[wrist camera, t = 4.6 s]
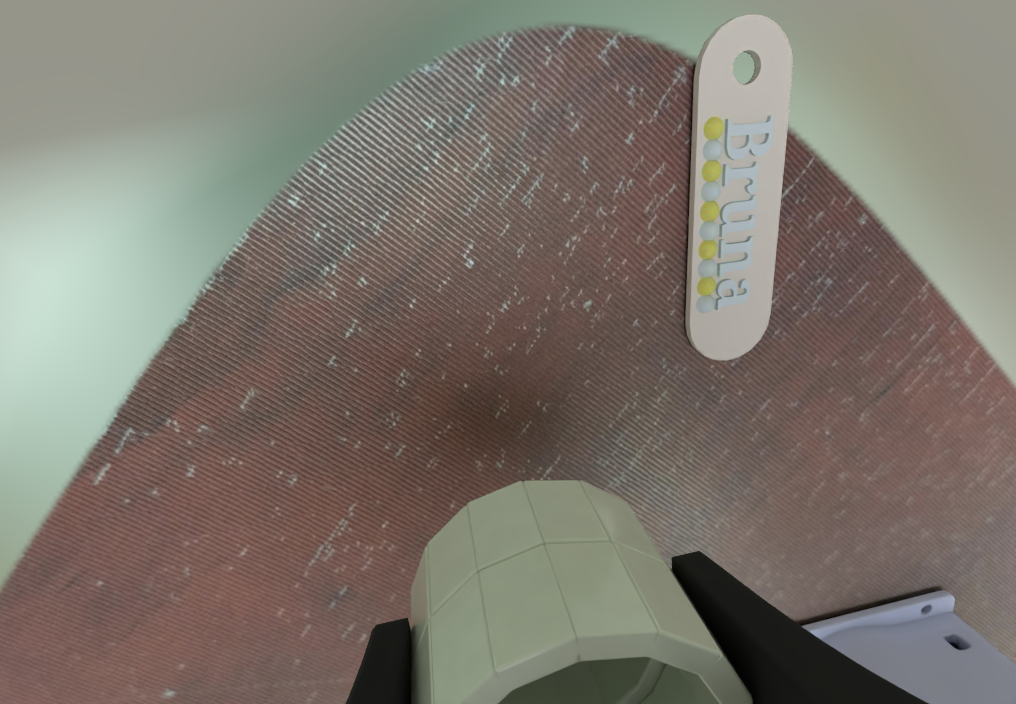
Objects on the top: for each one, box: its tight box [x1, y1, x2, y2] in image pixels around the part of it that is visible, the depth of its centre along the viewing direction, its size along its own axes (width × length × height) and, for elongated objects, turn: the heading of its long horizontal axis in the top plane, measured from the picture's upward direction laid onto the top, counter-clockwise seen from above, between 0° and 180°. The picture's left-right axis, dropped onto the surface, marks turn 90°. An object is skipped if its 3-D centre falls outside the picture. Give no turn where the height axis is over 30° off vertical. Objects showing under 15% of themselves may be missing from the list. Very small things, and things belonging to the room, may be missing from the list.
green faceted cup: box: [410, 480, 753, 704], centre depth 11 cm, size 5×6×4 cm
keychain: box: [685, 14, 793, 360], centre depth 17 cm, size 10×1×3 cm
